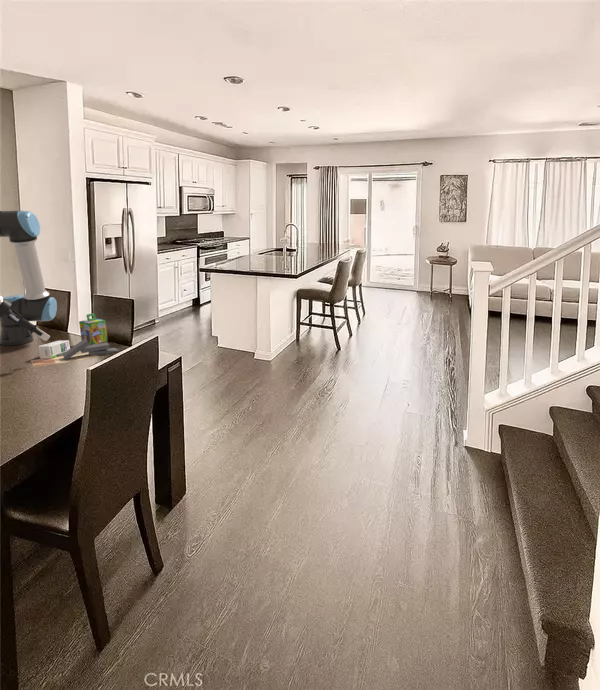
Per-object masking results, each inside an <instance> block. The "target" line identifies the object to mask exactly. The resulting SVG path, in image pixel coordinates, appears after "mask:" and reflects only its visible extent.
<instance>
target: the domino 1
mask: <svg viewBox="0 0 600 690" xmlns="http://www.w3.org/2000/svg"><path fill="white" fill-rule="evenodd" d="M88 345H91V344H90V343H89V342H88V341H87V339H86V338H85V339H84V340H82V341H79V342H78V343H76V344H75V345H73V346H72V347H70V349H69V350H68V351H66V352H65V353H63V354H62V355H61V356H63V357H64V358H65V359H66V360H67V359H69V358H70V357H72V356H73V355H75V354H77V353H80V352H81V351H80V350H82V349H83V348H85V347H86V346H88Z"/></svg>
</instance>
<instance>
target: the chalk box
mask: <svg viewBox="0 0 600 690" xmlns="http://www.w3.org/2000/svg"><path fill="white" fill-rule="evenodd" d="M85 317H86V319H84V320H80V321H79V322H78V324H79V330H80V340H81V341H82V340H84V339H85V338H86V339H87V341H88V342H89V343H90V344H89V345H94V344H100V343H106V342H107V343H108V331H107V322H106V320H105V319H100V318H96V314H95V313H93V312H92V313H88V314H86V316H85ZM90 317H92V318H90ZM81 341H80V342H81Z"/></svg>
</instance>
